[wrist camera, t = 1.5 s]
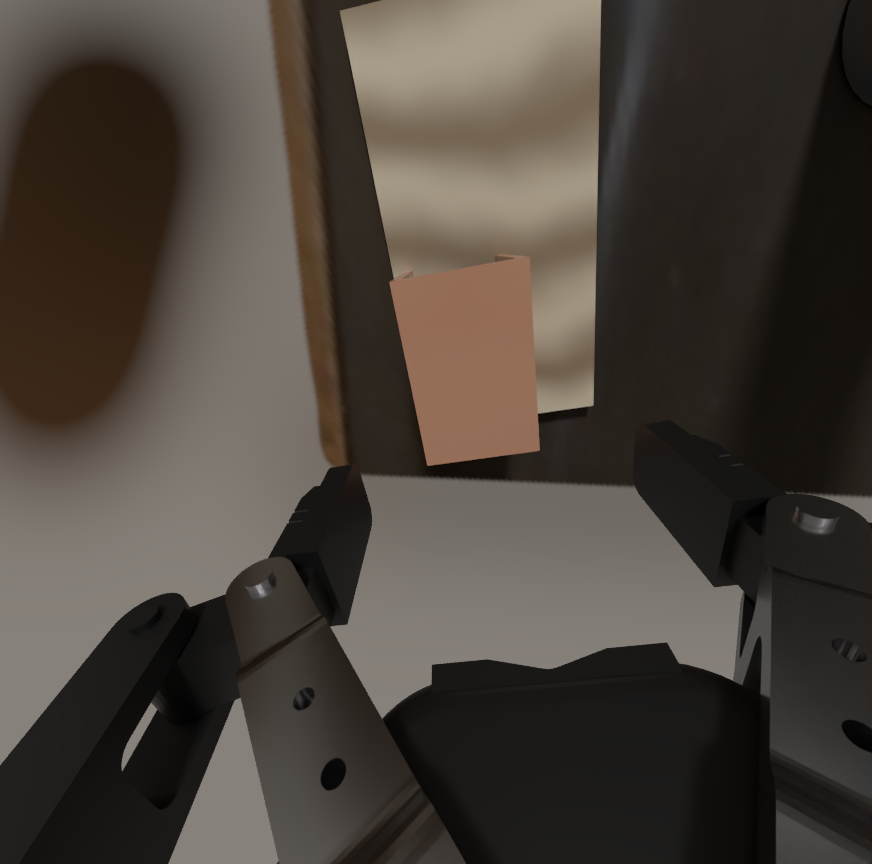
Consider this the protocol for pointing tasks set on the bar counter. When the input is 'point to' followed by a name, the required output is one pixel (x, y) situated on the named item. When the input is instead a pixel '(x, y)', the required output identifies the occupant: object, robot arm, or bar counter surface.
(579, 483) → the bar counter surface
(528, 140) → the birch mat
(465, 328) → the terracotta cover
